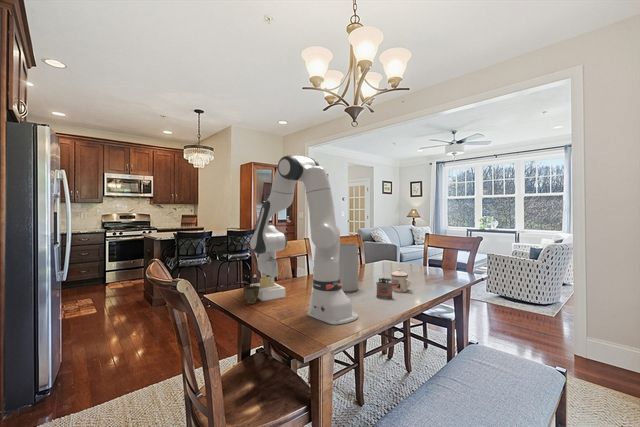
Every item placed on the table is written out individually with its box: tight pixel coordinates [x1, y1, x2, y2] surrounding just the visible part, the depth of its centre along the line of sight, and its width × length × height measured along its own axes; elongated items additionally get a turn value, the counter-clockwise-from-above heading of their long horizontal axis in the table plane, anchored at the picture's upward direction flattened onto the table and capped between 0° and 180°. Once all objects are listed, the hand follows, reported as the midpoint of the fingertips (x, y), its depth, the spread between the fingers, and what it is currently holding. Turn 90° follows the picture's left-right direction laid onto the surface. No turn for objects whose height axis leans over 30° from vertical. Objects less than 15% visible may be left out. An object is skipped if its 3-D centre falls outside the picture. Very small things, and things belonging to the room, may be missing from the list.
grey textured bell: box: [243, 285, 259, 305], centre depth 137 cm, size 8×7×8 cm
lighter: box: [375, 276, 393, 300], centre depth 146 cm, size 8×3×10 cm, turn 68°
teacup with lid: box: [390, 268, 412, 293], centre depth 159 cm, size 12×9×12 cm
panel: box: [259, 276, 275, 288], centre depth 152 cm, size 2×7×8 cm, turn 122°
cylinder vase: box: [339, 243, 359, 293], centre depth 162 cm, size 12×12×25 cm
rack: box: [249, 282, 286, 302], centre depth 152 cm, size 18×13×4 cm
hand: (267, 282), depth 152 cm, fingers open, 8 cm apart
